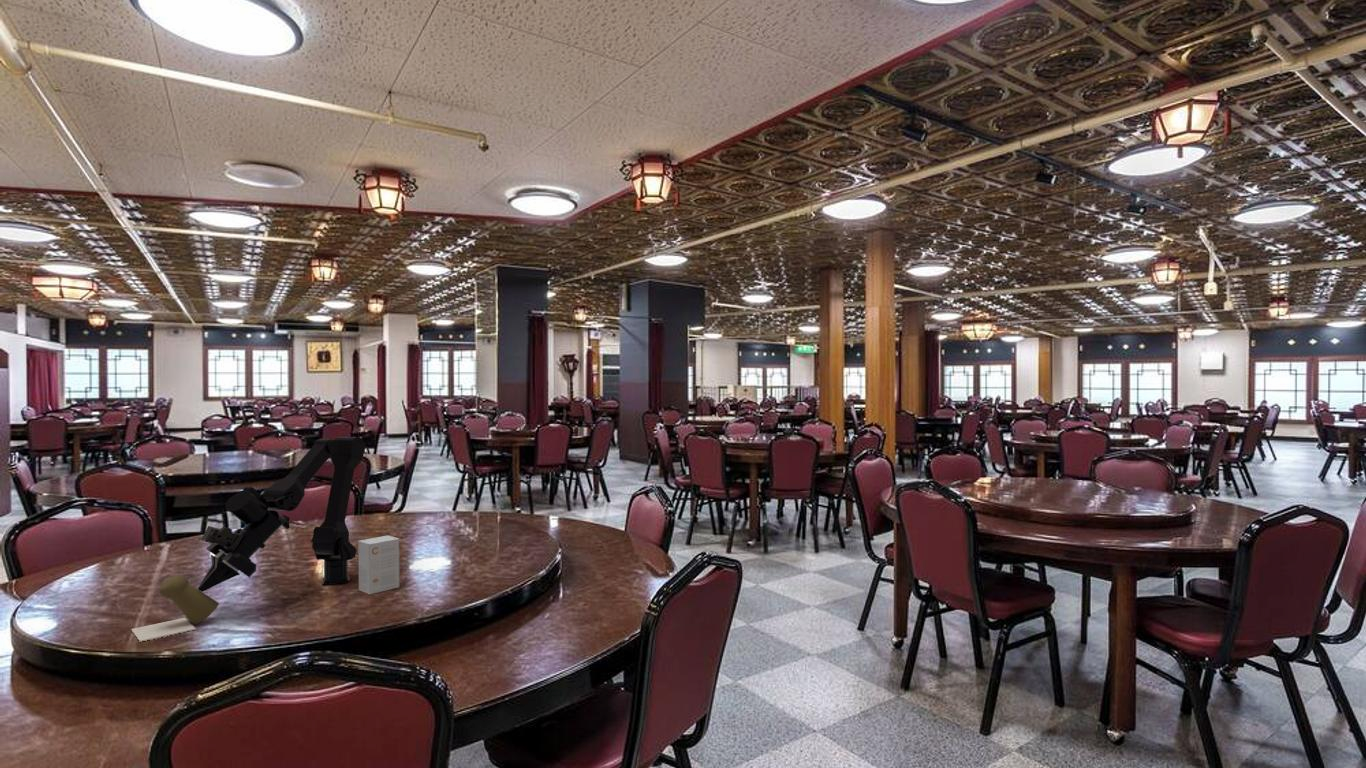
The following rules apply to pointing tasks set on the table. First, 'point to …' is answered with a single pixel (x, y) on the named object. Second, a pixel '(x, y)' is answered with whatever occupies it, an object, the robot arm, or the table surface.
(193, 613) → the cork
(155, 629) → the mat
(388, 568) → the small box
